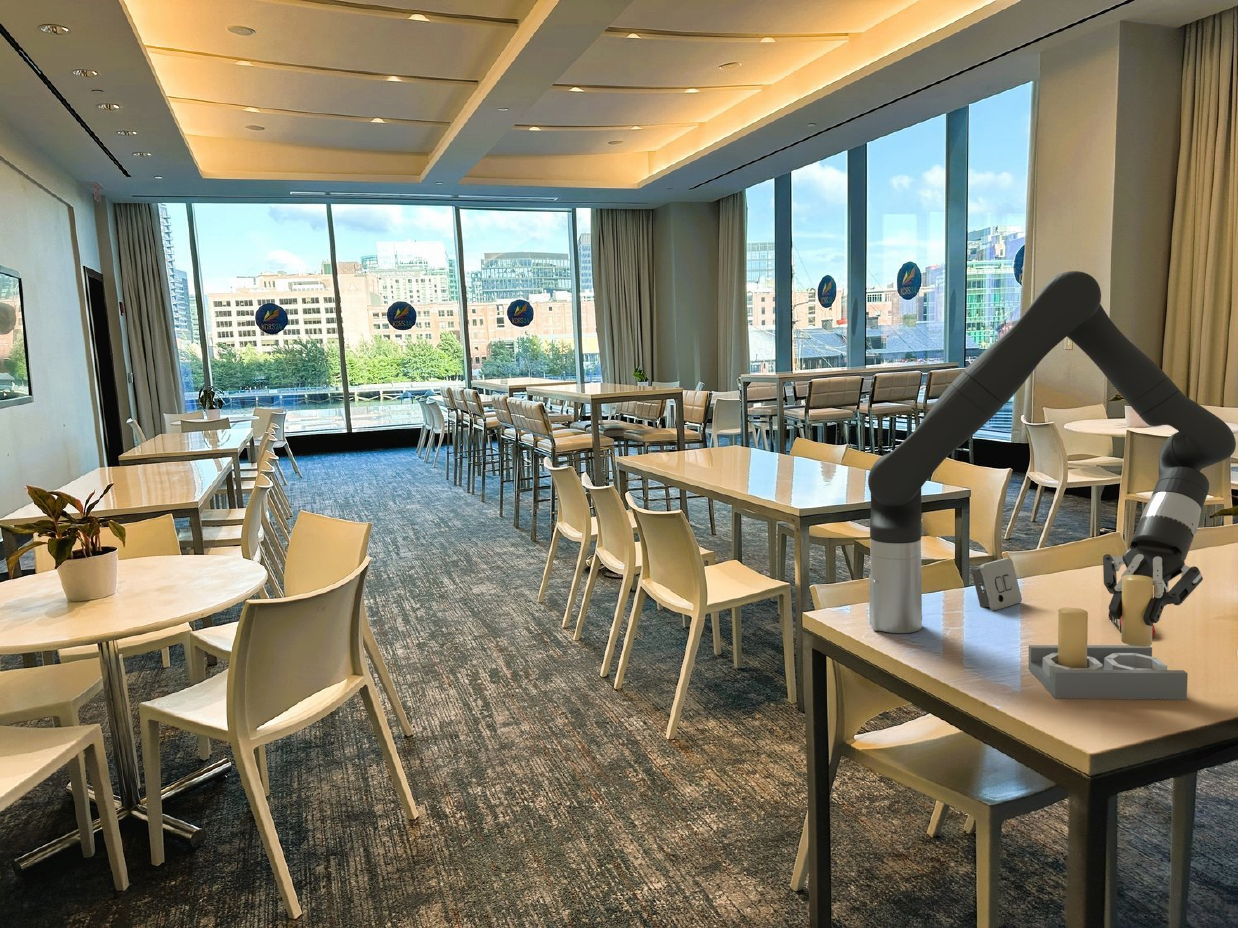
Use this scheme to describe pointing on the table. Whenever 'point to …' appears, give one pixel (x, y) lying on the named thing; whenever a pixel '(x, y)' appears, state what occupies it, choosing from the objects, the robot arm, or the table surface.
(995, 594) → the electrical switch
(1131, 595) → the domed yellow post
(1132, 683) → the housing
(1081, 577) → the table surface
